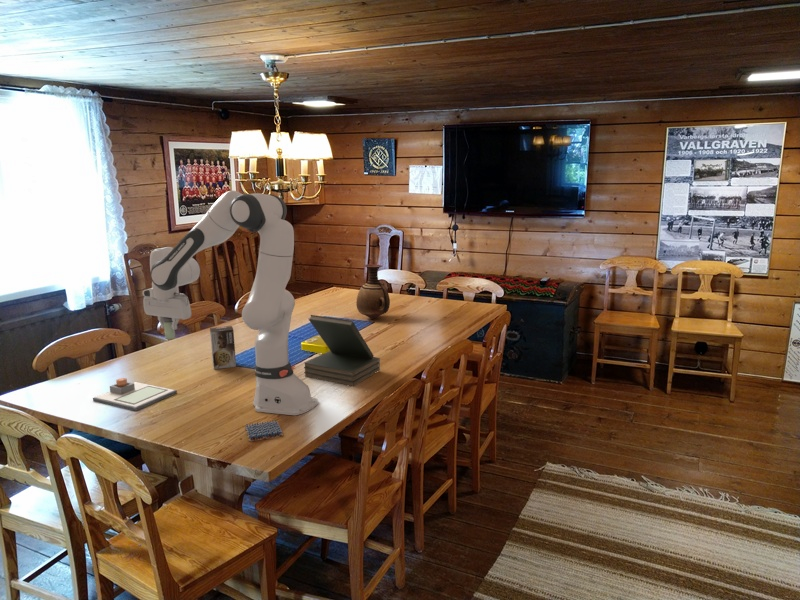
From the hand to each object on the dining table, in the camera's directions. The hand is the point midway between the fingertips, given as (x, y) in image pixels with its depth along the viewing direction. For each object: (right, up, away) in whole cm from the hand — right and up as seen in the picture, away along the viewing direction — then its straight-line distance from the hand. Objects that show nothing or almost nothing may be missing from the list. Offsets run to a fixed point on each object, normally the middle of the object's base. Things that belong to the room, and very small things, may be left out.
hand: (169, 328), depth 211 cm
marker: (0, -4, +1) cm, 4 cm away
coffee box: (+12, -17, +27) cm, 34 cm away
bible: (+62, -20, +17) cm, 67 cm away
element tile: (+50, -12, +51) cm, 72 cm away
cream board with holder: (-10, -24, -6) cm, 27 cm away
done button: (-16, -20, -4) cm, 26 cm away
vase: (+70, 0, +105) cm, 127 cm away
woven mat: (+43, -31, -34) cm, 63 cm away
